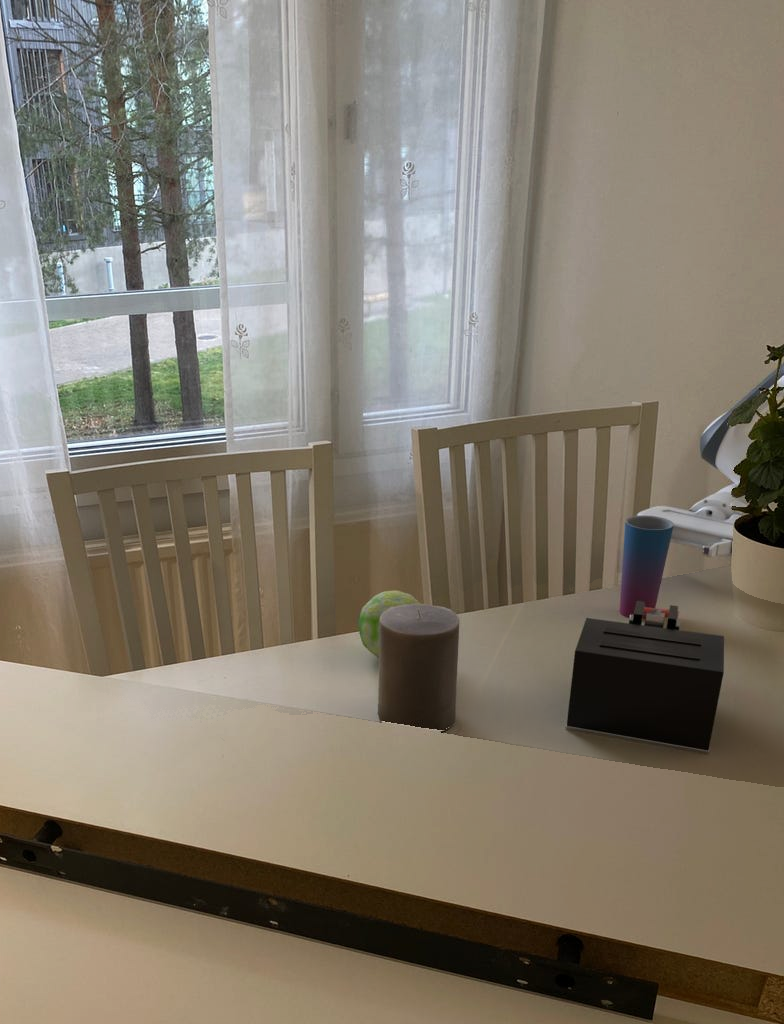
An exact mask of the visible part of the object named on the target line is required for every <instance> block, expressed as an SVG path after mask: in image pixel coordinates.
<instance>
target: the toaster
mask: <svg viewBox="0 0 784 1024" xmlns="http://www.w3.org/2000/svg"><path fill="white" fill-rule="evenodd" d="M644 625H645V624H644ZM644 625H643V624H642V625H637V624H629V622H620V621H613V620H604V619H598V618H592V617H591V618H590V617H586V618H585V620H584V623H583V626H582V629H581V631H580V635H579V638H578V641H577V644H576V646H575V650H574V658H573V665H572V675H571V683H570V690H569V691H570V692H569V701H568V709H567V717H566V724H565V726H564V727H565V728H564V730H566V731H569V732H570V731H572V732H576V733H583V734H587V735H594V736H599V737H604V738H609V739H617V740H621V741H628V742H633V743H638V744H645V745H650V746H656V747H661V748H667V749H673V750H677V751H683V752H690V753H696V754H700V755H707V756H708V755H710V748H711V747H710V746H711V741H712V736H713V731H714V730H713V729H714V724H715V719H716V714H717V711H718V705H719V699H720V695H721V694H720V693H721V688H722V683H723V679H724V674H725V673H724V672H725V636H724V635H720V634H712V633H706V632H705V633H704V632H696V631H689V630H681V629H679V630H674V629H667V628H666V627H663V628H659V627H652V626H644Z"/></svg>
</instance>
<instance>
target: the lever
mask: <svg viewBox="0 0 784 1024" xmlns="http://www.w3.org/2000/svg"><path fill="white" fill-rule="evenodd" d="M668 614H669V609H664V608H656V607H655V608H648V607H644V613H643V615H646V618H645V620H644V626H652V627H659V628H664V624H665V619H668ZM679 614H680V612H679V610H678V613H677V620H678V619H679Z"/></svg>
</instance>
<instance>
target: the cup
mask: <svg viewBox="0 0 784 1024" xmlns="http://www.w3.org/2000/svg"><path fill="white" fill-rule="evenodd" d="M624 523H625V524H624V536H623V549H622V550H623V551H622V565H621V567H622V568H621V581H620V597H619V598H620V599H619V614H620V615H621V616H623V617H624V618H627V619H629V618H630V614H633V615H634V611H635V607H636V603H637V601H642V602H645V606H644V607H648V608H656V606H657V603H658V598H659V593H660V589H661V584H662V581H663V580H662V579H663V576H664V571H665V567H666V562H667V557H668V553H669V549H670V545H671V542H670V540H671V535H672V531H673V527H674V524H673V522H672V521H670V520H668V519H665V518H661V517H656V516H637V515H633V516H629V517H627V518H626V519H625V521H624ZM645 618H646V615H643V619H642V621H645Z"/></svg>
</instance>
